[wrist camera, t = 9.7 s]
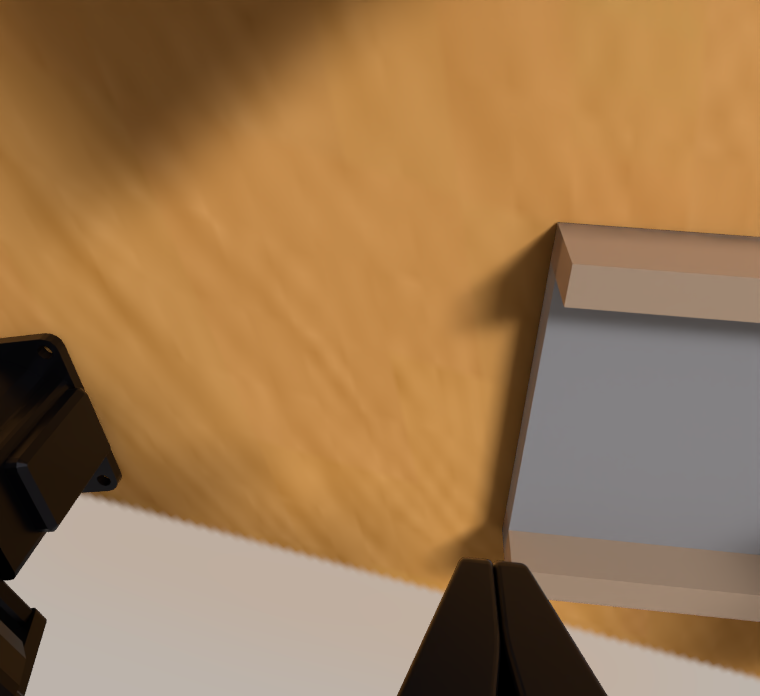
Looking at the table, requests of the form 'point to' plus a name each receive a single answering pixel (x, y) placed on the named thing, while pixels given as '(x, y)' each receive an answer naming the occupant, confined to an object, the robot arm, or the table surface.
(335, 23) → the table surface
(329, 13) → the table surface
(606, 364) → the box
